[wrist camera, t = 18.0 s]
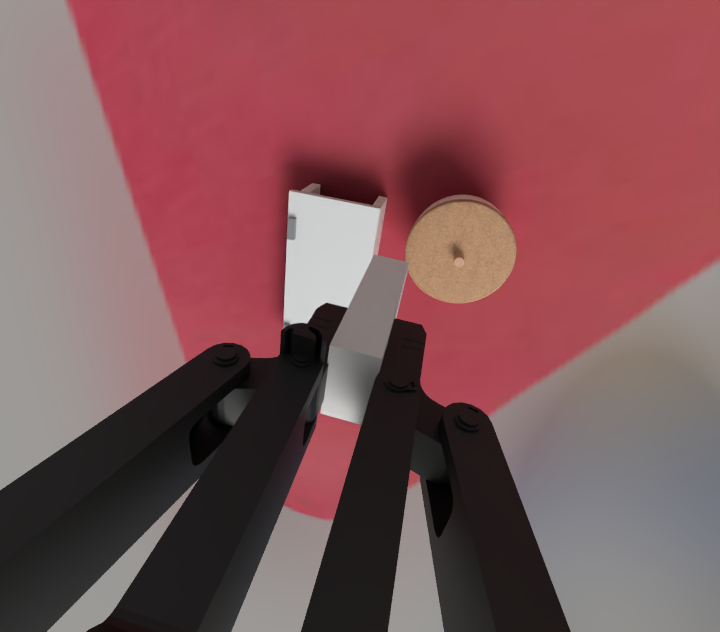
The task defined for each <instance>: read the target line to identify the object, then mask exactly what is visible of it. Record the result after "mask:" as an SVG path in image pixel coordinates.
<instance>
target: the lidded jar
mask: <svg viewBox="0 0 720 632" xmlns="http://www.w3.org/2000/svg"><path fill="white" fill-rule="evenodd" d="M516 251H517V248H516V240H515V237H514V233H513V231H512V229H511V227H510V225H509V223H508V221H507V220H506V219H505V217H504V216H503V214H502V213H501V212H500V211H499V210H498V209H497V208H496V207H495V206H494V205H493V204H491V203H490V202H488V201H486V200H484V199H482V198H480V197H476V196H472V195H453V196H448V197H445V198H443V199H440V200H438V201H436V202H435V203H433V204H432V205H430V206H429V207H428V208H427V209H426V210H425V211H424V212H423V213H422V214H421V215H420V216H419V218H418V219H417V221H416V222H415V224H414V226H413V227H412V229H411V231H410V233H409V235H408V239H407V242H406V247H405V262H409V267H408V272H409V274H410V276H411V278H412V280H413V281H414V283H415V284H416V285H417V286H418V287H419V288H420V289H421V290H422V291H423V292H425V293H426V294H428V295H429V296H431V297H433V298H435V299H437V300H440V301H444V302H449V303H468V302H473V301H477V300H480V299H482V298H484V297H487V296H488V295H490V294H491V293H493V292H495V291H496V290H497V289H498V288H499V287H500V286H501V285H502V284H503V283H504V282H505V281H506V280H507V278H508V276H509V275H510V273H511V271H512V269H513V267H514V263H515V260H516Z"/></svg>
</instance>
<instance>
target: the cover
mask: <svg viewBox="0 0 720 632" xmlns="http://www.w3.org/2000/svg"><path fill="white" fill-rule="evenodd" d="M381 208H382V207H379V206H374V205H369V204H364V203H359V202H354V201H349V200H344V199H339V198H334V197H329V196H324V195H319V194H314V193H309V192H304V191H298V190H293V189H291V190H290V191H289V204H288V224H287V251H286V274H285V297H284V320H283V329H284V328H285V327H286V326H288V325H291V324H295V323H308V321H309V320H310V318H311V317H312V315H313V313H314V312H315V310H316V309H317V308H318V307H320V306H321V305H323V304H325V303H330V304H334V305H339V306H343V307H347V308H348V307H349V305H350V303H351V301H352V299H353V297H354V294H355V292H356V290H357V288H358V286H359V284H360V282H361V280H362V278H363V276H364V274H365V272H366V270H367V268H368V266H369V264H370V262H371V260H372V258H373V256H374V250H375V244H376V238H377V232H378V226H379V220H380V214H381Z"/></svg>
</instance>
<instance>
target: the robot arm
mask: <svg viewBox="0 0 720 632" xmlns="http://www.w3.org/2000/svg"><path fill="white" fill-rule="evenodd" d="M408 267H409V262H404V261H400V260H396V259H391V258H387V257H383V256H378V255H374V256H373V258H372V260H371V262H370V264H369V266H368V268H367V270H366V272H365V274H364V276H363V278H362V280H361V282H360V284H359V286H358V288H357V290H356V292H355V294H354V297H353V299H352V301H351V303H350V305H349V307H348V308H347V307H343V306H339V305H334V304H330V303H325V304H323V305H321V306H320V307H318V308H317V309H316V310H315V312H314V313H313V315H312V317H311V318H310V320H309V321H308V323H295V324H291V325H288V326H286V327H285V328H284V329H283V330H281V344H280V354H279V356H278V357H274V358H250V353H249V351H248V350H247V349H246V348H244V347H243V346H241V345H238V344H235V343H222V344H217V345H214V346H212V347H210V348H208V349H206V350H205V351H204V352H202V353H201V354H199V355H198V356H196V357H195V358H193V359H192V360H190V361H189V362H187V363H186V364H185V365H183V366H182V367H180V368H179V369H177V370H176V371H174V372H173V373H171V374H170V375H169V376H167V377H166V378H164V379H163V380H161V381H160V382H158V383H157V384H155V385H154V386H152V387H151V388H149V389H148V390H147V391H145V392H144V393H142V394H141V395H139V396H138V397H136V398H135V399H133V400H132V401H130V402H129V403H128V404H126V405H125V406H123V407H122V408H120V409H119V410H117V411H116V412H114V413H113V414H112V415H110V416H108V417H107V418H106V419H104V420H103V421H101V422H100V423H98V424H97V425H95V426H94V427H92V428H91V429H89V430H88V431H86V432H85V433H84V434H82V435H81V436H79V437H78V438H77V439H75V440H73V441H72V442H70V443H69V444H68V445H66V446H65V447H63V448H62V449H60V450H59V451H57V452H56V453H54V454H53V455H51V456H50V457H48V458H47V459H46V460H44V461H43V462H41V463H40V464H38V465H37V466H36V467H34V468H32V469H31V470H29V471H28V472H27V473H25V474H24V475H22V476H21V477H19V478H18V479H16V480H15V481H13V482H12V483H10V484H9V485H7V486H6V487H5V488H3V489H2V490H0V632H47V630H49V629H50V628H51V627H52V626H53V625H54V624H55V623H56V622H57V620H59V618H61V617H62V616H63V615H64V613H66V611H68V609H70V607H71V606H72V605H73V604H74V603H75V602H76V601H77V600H78V599H79V598H80V597H81V596H82V595H83V594H84V593H85V592H86V591H87V590H88V589H89V588H90V587H91V586H92V585H93V584H94V583H95V582H96V581H97V580H98V579H99V578H100V577H101V576H102V575H103V574H104V573H105V572H106V571H107V570H108V569H109V568H110V567H111V566H112V565H113V564H114V563H115V562H116V561H117V560H118V559H119V558H120V557H121V556H122V555H123V554H124V553H125V552H126V551H127V550H128V549H129V548H130V547H131V546H132V545H133V544H134V543H135V542H136V541H137V540H138V539H139V538H140V537H141V536H142V535H143V534H144V533H145V532H146V531H147V530H148V529H149V528H150V527H151V526H152V525H153V524H154V523H155V522H156V521H157V520H158V519H159V518H160V517H161V516H162V515H163V514H164V513H165V512H166V511H167V510H168V509H169V508H170V507H171V506H172V505H173V504H174V503H175V502H176V501H177V500H178V499H179V498H180V497H181V496H182V495H183V494H184V493H185V492H186V491H187V490H188V489H189V488H190V487H191V486H192V485H193V484H194V483H195V482H196V481H197V480H198V479H199V480H198V482H197V483H196V484H195V486H194V488H193V489H192V491H191V492H190V494H189V495H188V497H187V498H186V500H185V501H184V503H183V505H182V506H181V508H180V509H179V511H178V512H177V514H176V515H175V517H174V518H173V520H172V521H171V523H170V525H169V526H168V528H167V529H166V531H165V532H164V534H163V535H162V537H161V539H160V540H159V542H158V543H157V545H156V546H155V548H154V549H153V551H152V552H151V554H150V556H149V557H148V559H147V560H146V562H145V563H144V565H143V566H142V568H141V569H140V571H139V573H138V574H137V576H136V577H135V579H134V580H133V582H132V583H131V585H130V586H129V588H128V589H127V591H126V593H125V594H124V596H123V597H122V599H121V600H120V602H119V603H118V605H117V606H116V608H115V609H114V611H113V612H112V613H111V615H110V616H109V617H108V618H107V619H106V620H105V621H104V622H103V623H101V624H99V625H97V626H95V627H93V628H91V629H89V630H88V631H87V632H231V631H232V628H233V626H234V623H235V621H236V619H237V616H238V614H239V611H240V609H241V606H242V604H243V601H244V599H245V597H246V594H247V592H248V589H249V587H250V585H251V582H252V580H253V577H254V575H255V573H256V570H257V568H258V565H259V563H260V560H261V558H262V555H263V553H264V551H265V548H266V546H267V543H268V541H269V539H270V536H271V534H272V531H273V529H274V526H275V524H276V522H277V519H278V517H279V514H280V512H281V510H282V507H283V505H284V502H285V500H286V497H287V495H288V493H289V490H290V488H291V485H292V483H293V480H294V478H295V476H296V473H297V471H298V468H299V466H300V464H301V461H302V459H303V456H304V454H305V451H306V449H307V447H308V444H309V442H310V439H311V437H312V434H313V432H314V430H315V427H316V421H317V414H318V412H319V410H320V407H321V405H322V407H321V414H324V415H328V416H332V417H335V418H339V419H342V420H346V421H350V422H353V423H357V424H361V428H360V432H359V435H358V439H357V442H356V446H355V449H354V452H353V456H352V459H351V463H350V466H349V469H348V473H347V476H346V480H345V483H344V487H343V490H342V493H341V497H340V500H339V504H338V507H337V510H336V514H335V517H334V521H333V524H332V527H331V531H330V534H329V538H328V541H327V545H326V548H325V552H324V555H323V558H322V562H321V565H320V568H319V572H318V576H317V579H316V583H315V586H314V589H313V592H312V596H311V599H310V603H309V606H308V609H307V613H306V616H305V620H304V623H303V627H302V630H301V632H388V625H389V618H390V610H391V603H392V596H393V588H394V581H395V574H396V567H397V559H398V553H399V545H400V537H401V531H402V523H403V516H404V509H405V501H406V495H407V487H408V480H409V473H410V470H412V471H414V472H415V473H417V474H418V475H420V482H421V489H422V495H423V501H424V507H425V513H426V520H427V526H428V532H429V538H430V545H431V551H432V558H433V564H434V570H435V577H436V583H437V589H438V595H439V602H440V607H441V614H442V621H443V627H444V632H570V629H569V626H568V624H567V621H566V618H565V616H564V613H563V610H562V608H561V605H560V602H559V600H558V597H557V595H556V592H555V589H554V586H553V584H552V581H551V579H550V576H549V573H548V571H547V568H546V566H545V563H544V560H543V557H542V555H541V552H540V549H539V547H538V544H537V541H536V539H535V536H534V534H533V531H532V528H531V526H530V523H529V520H528V518H527V515H526V512H525V510H524V507H523V504H522V502H521V499H520V496H519V494H518V491H517V488H516V486H515V483H514V480H513V478H512V475H511V473H510V470H509V467H508V465H507V462H506V459H505V457H504V454H503V451H502V449H501V446H500V443H499V441H498V438H497V435H496V433H495V430H494V427H493V425H492V423H491V421H490V419H489V418H488V416H487V415H486V414H485V413H484V412H483V411H481V410H480V409H479V408H477V407H475V406H473V405H470V404H466V403H452V404H450V405H448V406H447V407H444V406H442V405H440V404H438V403H436V402H435V401H433V400H432V399H430V398H429V397H428V396H427V395H426V394H425V393H424V391H423V390H422V388H421V385H420V376H421V369H422V362H423V355H424V348H425V341H426V333H425V331H424V328H423V326H422V325H420V324H416V323H412V322H408V321H404V320H400V319H396V317H397V313H398V309H399V305H400V301H401V296H402V292H403V288H404V284H405V279H406V275H407V271H408Z"/></svg>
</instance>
